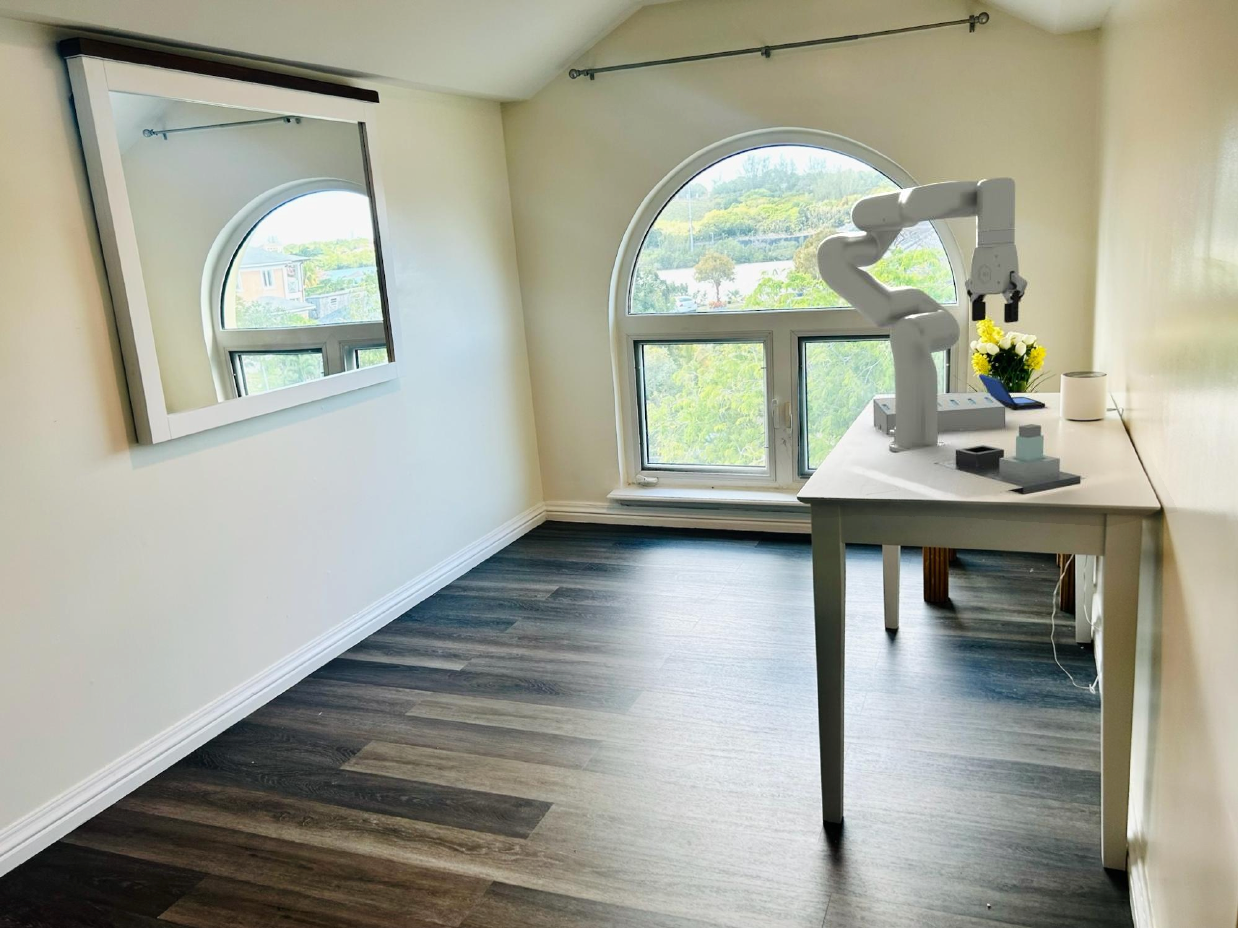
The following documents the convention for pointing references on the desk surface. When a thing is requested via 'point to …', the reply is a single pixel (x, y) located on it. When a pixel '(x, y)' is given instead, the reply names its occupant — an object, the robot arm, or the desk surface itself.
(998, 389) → the handheld game console
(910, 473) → the desk surface
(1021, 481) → the panel
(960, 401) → the grey slotted box
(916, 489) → the desk surface
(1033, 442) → the plug
